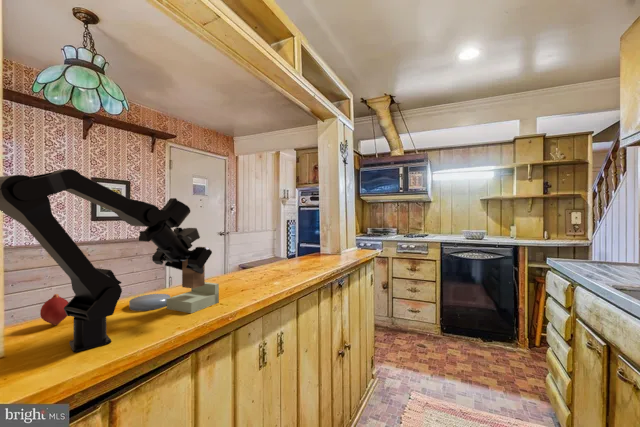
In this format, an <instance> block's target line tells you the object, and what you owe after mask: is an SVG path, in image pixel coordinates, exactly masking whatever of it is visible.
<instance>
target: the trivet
mask: <svg viewBox="0 0 640 427" xmlns="http://www.w3.org/2000/svg"><path fill="white" fill-rule="evenodd" d="M167 298H171V295H170V294H167V293H152V294H143V295H140V296H136V297H134V298H131V299H130V300H128V301H129V310H130V311H133V312H134V311H135V312H148V311H154V310H159V309H162V308H164V307H165V308H166V299H167Z"/></svg>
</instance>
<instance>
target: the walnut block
mask: <svg viewBox="0 0 640 427" xmlns="http://www.w3.org/2000/svg"><path fill="white" fill-rule="evenodd" d="M205 264H206V263H205ZM205 264H204V266H203V269H204V272H203V274H200V273H197V272H195V271H193V270H190V269H188V268H186V267H187V265H188V259H187V260H186V261H182V270H181V273H182V274H181V287H182V288H187V289H191V288H193V289H194V288H197V287H200V286H204V285H205V282H206V279H205V278H206V277H205V274H206V273H205V272H206V271H205Z"/></svg>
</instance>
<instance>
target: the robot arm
mask: <svg viewBox="0 0 640 427" xmlns="http://www.w3.org/2000/svg"><path fill="white" fill-rule="evenodd" d="M64 191H65V192H66V193H69V194H71V195H74V196H76V197H79V198H81V199H83V200H86V201H87V202H90V203H91V204H92V203H93V205H94V204H95V205H97V206H99V207H101V208H104V209H106V210H109V211H111V212H113V213H114V214H115V215H117V216H118V217H119V219H120V220H122V221H124V222H125V223H126V224H128V225H130V226H131V227H144V228H145V227H146V228H145V229H144V230H139V236H138V241H139V242H150V241H151V242H152V243H153V244H154V245H155V246H156V247H157V248H156V251H155V252H154V254H153V255H152V257H151V261H152V262H153V263H155V265H161V266H163V265H164V266H165V267H168V268H173V269H176V270H179V271H182V261H186V260H187V259H188V265H187V267H186V268H188V269H190V270H193V271H195V272H197V273H200V274H203V272H204V269H203V266H204V264H206V263H207V262H208V260H209V259H210V257H211V255H212V254H213V252H212V250H211V249H210V247H208V246H196V247H195V248H194V249H192V250H189V249H191V248H192V247H193V244H192V243H194V242H195V241H197V240H199V239H200V238H201V236H200V233H199V230H198V229H197V227H186V228H182V227H180V226H181V225H182V223H183V222H184V221H185V220H186V218H188V216H189V214H190V213H191V208H190V207H189V205H187V204H185V203H184V202H182V201H180V200H178V199H177V198H176V197H173V198H172V197H171V198H170V199H169V200H167V202H166V204H165V205H164V206H163V207H161V209H159V207H158V206H156V205H155V204H152V203H149V202H145V201H141V200H136V199H132V198H129V197H126V195H122V194H121V193H119V192H117V191H114V190H112V189H110V188H109V187H107V186H105V185H103V184H101V183H99V182H97V181H94V180H92V179H90V178H88V177H87V176H84V175H83V174H81V173H80V172H78V171H77V170H75V169H72V168H66V169H57V170H54V171H52V172H47V173H42V174H35V175H31V176H30V175H25V174H15V175H13V174H12V175H3V176H2V175H1V176H0V212H2V211H3V212H2V213H3V214H4V215H6V216H8V217H9V218H11V219H12V220H14V221H16V222H18V223H20V224H21V225H22V226H23V227H25V229H26V230H27V231H28V232H29V233H30V235H31V236H32V237H33V238H35V240H36V241H37V243H39V245H40V246H41V247H42V248H43V249H44V250H45V251H46V252H47V254H48V255H49V256H50V257H51V258H52V259H53V260H54V262H55V263H56V264H57V265H58V266H59V267H60V269H62V271H64V273H65V275H67V277H69V279H70V282H71V284H70V285H71V289H72V291H73V293H74V296H73V297H72V298H71V299H70V301H68V302H69V303H68V304H67V305H66V306H65V307H64V310H65V312H66V314H67V317H72V318H73V339H72V340H70V341H69V344H68V345H69V346H70V348H71V350H72V352H73V353H78V352H82V351H84V350H89V349H93V348H96V347H101V346H104V345H107V344H111V343H112V339H111V338H110V337H109V335H108V334H107V317H110V316H113V315H114V313H115V310H116V307H117V304H118V301H119V299H120V298H121V296H122V292H123V289H122V287H121V285H120V284H122V283H123V282H122V281H121V280H119V279H117V277H116V275H115V274H114V272H113V271H112V269H105V268H99V267H95V266H94V264H92V262H91V261H90V259H89V258H88V257H87V256H86V255H85V254H84V252H83V251H82V250H81V248H80V247H79V246H78V244H76V241H74V240H73V238H72V236H70V235H69V233H67V231H66V229H64V227H63V226H62V225H61V223H60V222H59V221H58V220H57V219H56V218H55V216H54V214H53V212H52V211H53V210H52V206H51V201H50V199H49V196H52V195H56V194H58V193H61V192H64ZM164 262H165V263H164Z"/></svg>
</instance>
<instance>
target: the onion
mask: <svg viewBox="0 0 640 427" xmlns="http://www.w3.org/2000/svg"><path fill="white" fill-rule="evenodd" d="M69 302H70V301H68V300H67V299H65V298H64V297H61V296H60V295H59V294H58V293H54V294H53V296H52V297H51V298H49V299H47V300H46V301H45V302H44V304H43V305H41V308H40V314H39V315H40V318H41V319H42V320H43V321H44V322H46V323H48V324H51V325H52V326H57V325H59V324H60V323H61V322H62V321H64V320H65V319H66V318H67V317H68V316H67V314H66V312H65V310H64V307H65V306H66V305H67V304H68V303H69Z"/></svg>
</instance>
